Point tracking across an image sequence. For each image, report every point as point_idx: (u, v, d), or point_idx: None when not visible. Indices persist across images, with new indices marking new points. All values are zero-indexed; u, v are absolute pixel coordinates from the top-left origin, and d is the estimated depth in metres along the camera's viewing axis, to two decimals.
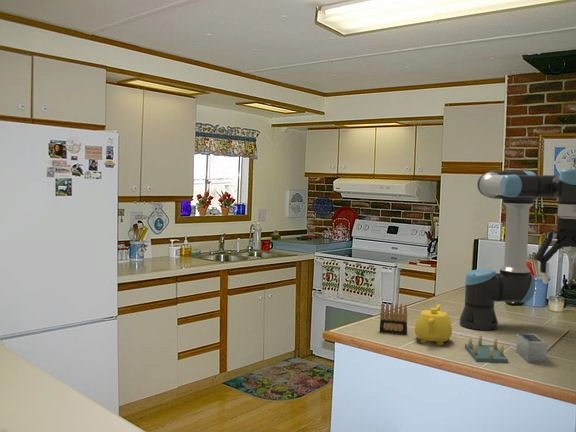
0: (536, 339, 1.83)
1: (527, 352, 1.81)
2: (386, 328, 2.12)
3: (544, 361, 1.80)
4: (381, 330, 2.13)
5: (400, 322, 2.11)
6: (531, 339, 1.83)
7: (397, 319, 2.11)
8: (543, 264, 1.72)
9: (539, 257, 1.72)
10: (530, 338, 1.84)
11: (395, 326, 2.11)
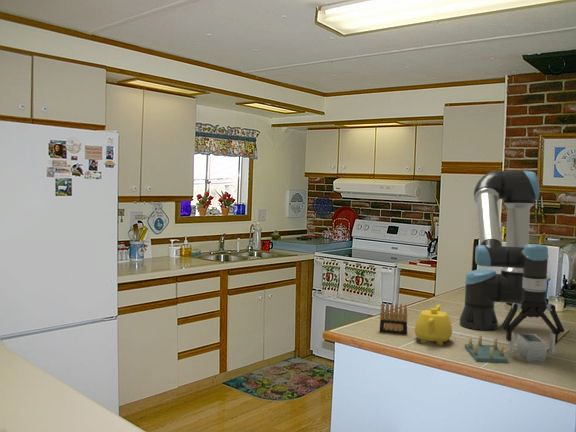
0: (536, 339, 1.83)
1: (526, 352, 1.81)
2: (386, 328, 2.12)
3: (543, 361, 1.80)
4: (381, 330, 2.13)
5: (400, 322, 2.11)
6: (531, 339, 1.83)
7: (397, 319, 2.11)
8: (509, 333, 1.85)
9: (505, 326, 1.84)
10: (530, 338, 1.84)
11: (395, 326, 2.11)
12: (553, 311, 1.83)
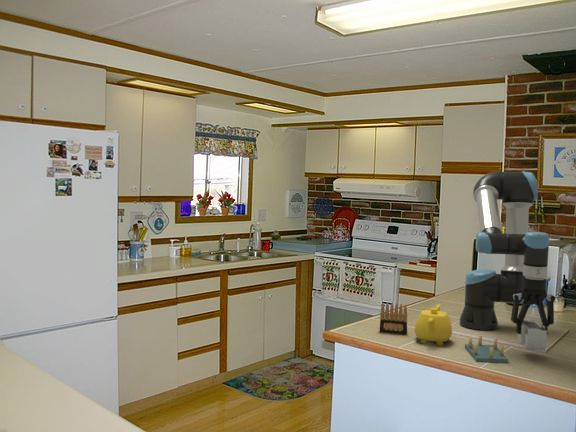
0: (536, 326, 1.83)
1: (526, 339, 1.81)
2: (386, 328, 2.12)
3: (544, 348, 1.80)
4: (381, 330, 2.13)
5: (400, 322, 2.11)
6: (531, 326, 1.83)
7: (397, 319, 2.11)
8: (519, 326, 1.85)
9: (514, 320, 1.84)
10: (530, 325, 1.84)
11: (395, 326, 2.11)
12: (551, 302, 1.83)
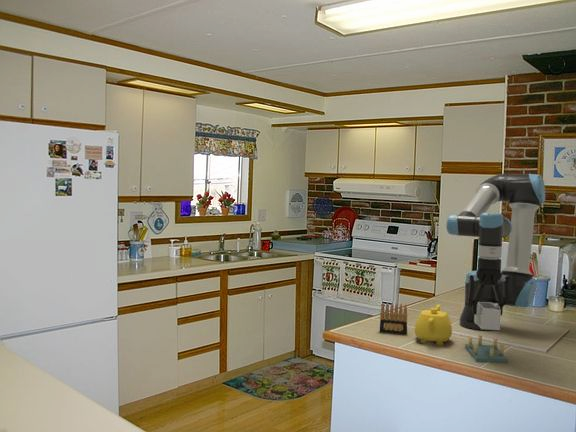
0: (491, 306, 1.84)
1: (481, 318, 1.82)
2: (386, 328, 2.12)
3: (498, 327, 1.81)
4: (381, 330, 2.13)
5: (400, 322, 2.11)
6: (486, 306, 1.84)
7: (397, 319, 2.11)
8: (474, 306, 1.86)
9: (470, 300, 1.85)
10: (485, 305, 1.85)
11: (395, 326, 2.11)
12: (506, 282, 1.84)
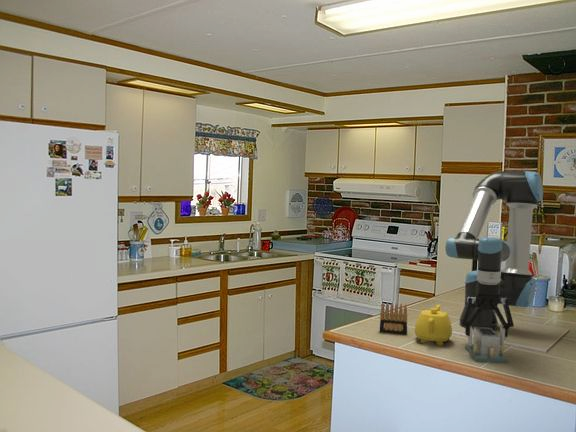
0: (490, 333, 1.85)
1: (480, 345, 1.83)
2: (386, 328, 2.12)
3: (497, 354, 1.82)
4: (381, 330, 2.13)
5: (400, 322, 2.11)
6: (485, 333, 1.85)
7: (397, 319, 2.11)
8: (467, 328, 1.87)
9: (463, 322, 1.86)
10: (485, 332, 1.86)
11: (395, 326, 2.11)
12: (506, 305, 1.85)
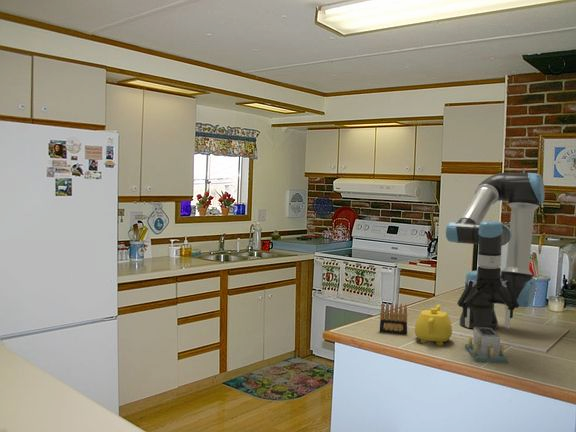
0: (490, 333, 1.85)
1: (480, 345, 1.83)
2: (386, 328, 2.12)
3: (497, 354, 1.82)
4: (381, 330, 2.13)
5: (400, 322, 2.11)
6: (485, 333, 1.85)
7: (397, 319, 2.11)
8: (464, 309, 1.87)
9: (460, 303, 1.86)
10: (485, 332, 1.86)
11: (395, 326, 2.11)
12: (508, 287, 1.84)
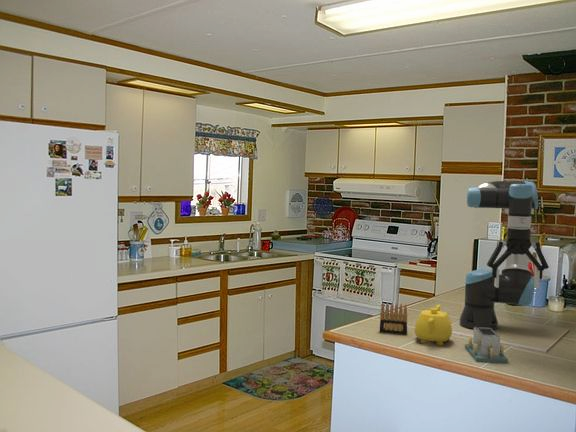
0: (490, 333, 1.85)
1: (480, 345, 1.83)
2: (386, 328, 2.12)
3: (497, 354, 1.82)
4: (381, 330, 2.13)
5: (400, 322, 2.11)
6: (485, 333, 1.85)
7: (397, 319, 2.11)
8: (494, 270, 1.90)
9: (490, 264, 1.90)
10: (485, 332, 1.86)
11: (395, 326, 2.11)
12: (538, 248, 1.87)
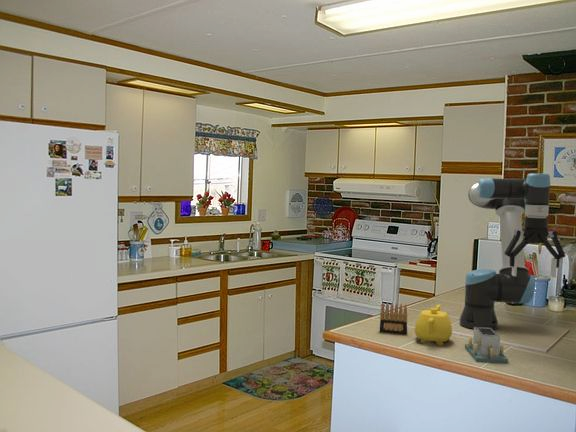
0: (490, 333, 1.85)
1: (480, 345, 1.83)
2: (386, 328, 2.12)
3: (497, 354, 1.82)
4: (381, 330, 2.13)
5: (400, 322, 2.11)
6: (485, 333, 1.85)
7: (397, 319, 2.11)
8: (512, 259, 1.92)
9: (508, 252, 1.91)
10: (485, 332, 1.86)
11: (395, 326, 2.11)
12: (555, 237, 1.90)
